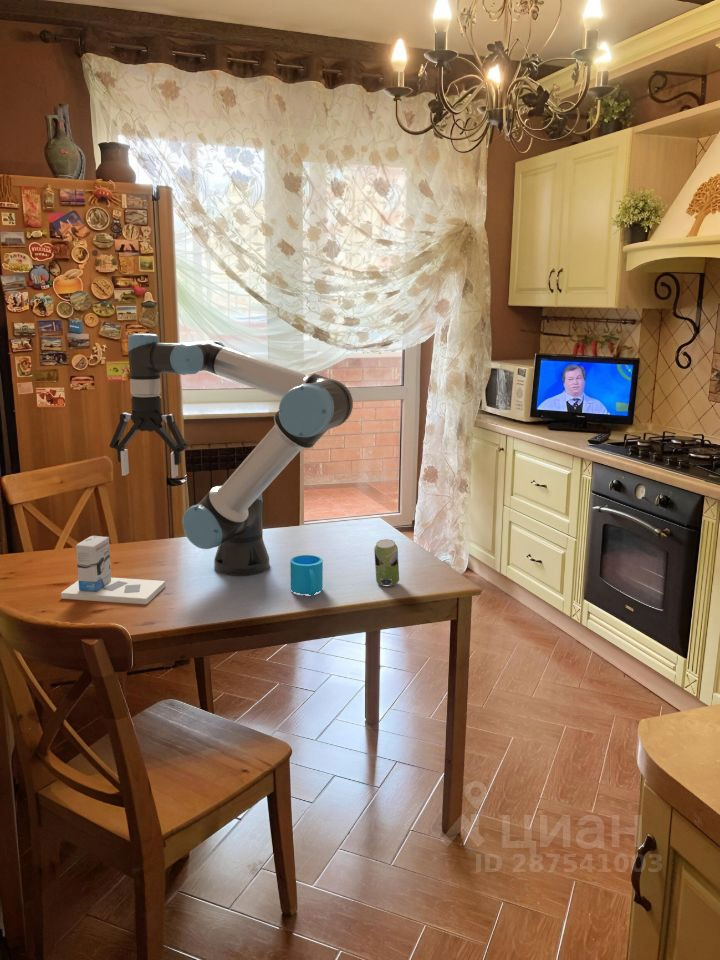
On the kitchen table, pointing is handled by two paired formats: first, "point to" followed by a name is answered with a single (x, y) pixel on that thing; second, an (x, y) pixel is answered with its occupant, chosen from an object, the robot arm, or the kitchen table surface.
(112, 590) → the board
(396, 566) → the beverage can
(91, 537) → the ink box
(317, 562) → the mug
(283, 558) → the kitchen table surface
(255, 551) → the robot arm
